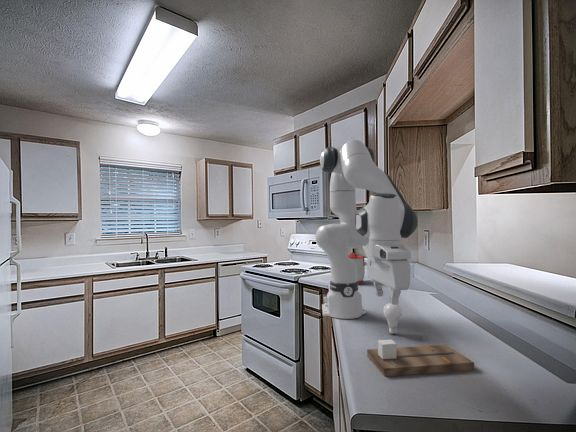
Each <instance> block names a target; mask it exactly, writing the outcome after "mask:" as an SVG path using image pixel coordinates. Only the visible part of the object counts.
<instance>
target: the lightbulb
mask: <svg viewBox="0 0 576 432" xmlns="http://www.w3.org/2000/svg"><path fill="white" fill-rule="evenodd" d="M382 312H383V313H382V314H383V316H384V318H385V319H386V322H387V325H388V332H389V334H391V335H396V334H398V328H397V327H398V322H399V321H400V320H401V318H402V315H403V312H402V307H401V306H400V305H399V304H398V305H393V304H391V303H390V302H388V303H386V304H385V305H384V306H383V308H382Z"/></svg>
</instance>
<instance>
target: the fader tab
mask: <svg viewBox="0 0 576 432" xmlns="http://www.w3.org/2000/svg"><path fill="white" fill-rule="evenodd" d="M396 348H397V343H396V342H395V341H394V340H393V339H379V340H377V349H378V355H379V356H380V357H381V358H382V359H395V358H397V357H396Z"/></svg>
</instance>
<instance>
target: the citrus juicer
mask: <svg viewBox="0 0 576 432" xmlns="http://www.w3.org/2000/svg"><path fill="white" fill-rule="evenodd" d="M348 257H349V258H351V259H352V260H354V261H355V263H356V265H357V281H358V285H361V284H363V282H364V280H365V279H364V278H365V272H366V271H365V269H366V267H365V266H367V261H365V256H363V255H357V254H356V253H354V252H350V254H349V255H348Z"/></svg>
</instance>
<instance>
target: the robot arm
mask: <svg viewBox="0 0 576 432" xmlns="http://www.w3.org/2000/svg"><path fill="white" fill-rule="evenodd" d="M319 165H320V167H321V170H322V171H323V172H325V173H327V174H330V181H329V210H330V211H331V213H332V214H334V215H336V216H337V218H338V219H339V222H340V223H329V224H324V225H320V226H319V227H318V228H317V230H316V232H315V242H316V244H317V246H318V247H319V248H320V249H321V250H323V252H325V254H326V256H327V258H328V260H329V265H330V267H329V268H330V280H329V281H330V282H329V290H328V292H327V294H326V296H323V303H322V304H321V310H322V315H323V316H325V317H326V316H327V317H332V318H336V319H342V320H347V319H348V320H350V319H351V320H352V319H357V318H360V317H361V316H363V315H365V314H367V311H366V310H365V309H363V299H362V298H363V297H362V293H360V292H359V284H358V281H357V265H356V263H355V261H354V260H352V259H351V258H349V257H348V256H349V255H348V252H347V250H348V249H349V250H350V249H351V250H352V249H359V248H362V247H366V246H367V245H368V255H367V261H366V263H367V265H366V274H367V277H368V278H369V279H371V280H372V283H373V286H374V289H375V295H376V296H377V297H384V290H383V287H382V285H384V286H385V287H386V286H387V287H388V288H390V292H391V295H390V296H389V303H391V304H393V305H399V304H400V303H399V302H400V301H399V298H400V295H401V293H402V291H408V290H409V288H410V285H411V264H410V260H411V259H412V258H411V257H412V253H411V251H410V250H409V249H408V248H406V246H404V244H403V243H402V242H403V241H402V240H403V239H407V238H409V237H410V236H411V235H413V233H414V232H415V231H416V230H417V229H418V225H419V224H418V219H419V218H418V216H417V213H416V212H415V210H414V209H413V208H412V207H411V206H410V204H408V203H407V201H406V200H405V198H404V197H403V194H402V193H401V192H400V190H399V189H398V187H397V186H396V184H395V183H394V181H393V179H392V178H391V176H390V175H389V174H388V173H386V171H384V170H382V169H381V168H379V166H378V165H377V164H376V163H375V152H374V151H373V149H372V148H371V147H368V146H366V145H365V143H364V142H362V140H358V139H351V140H348V141H347V142H345V143H344V144H343V145H342V146H334V147H333V146H329V147H328V146H327V147H325V148H324V149H322V150H321V153H320V157H319ZM356 189H361V190H366V191H370V192H373V194H372V193H371V194H370V195H369V199H368V200H369V201H368V203H367V204H366V205H365V206H363V207H360V208H359V210H358V209H357V200H356V198H357V197H356V196H357V195H356Z"/></svg>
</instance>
